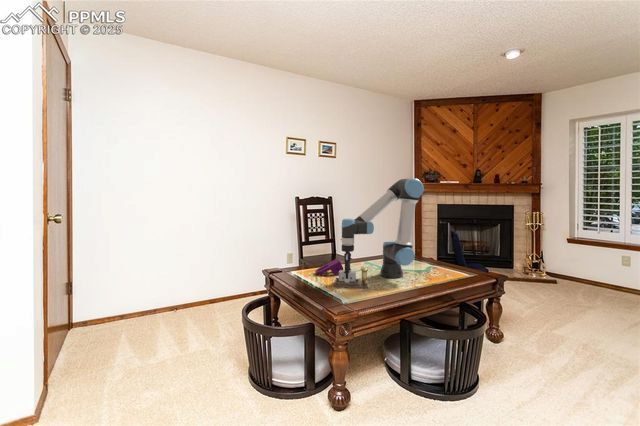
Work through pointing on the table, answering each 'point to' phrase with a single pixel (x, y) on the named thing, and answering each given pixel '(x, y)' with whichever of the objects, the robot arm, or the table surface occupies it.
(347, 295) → the table surface
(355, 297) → the table surface
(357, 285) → the hinge base
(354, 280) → the grey block with holes
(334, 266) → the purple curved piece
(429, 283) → the table surface
